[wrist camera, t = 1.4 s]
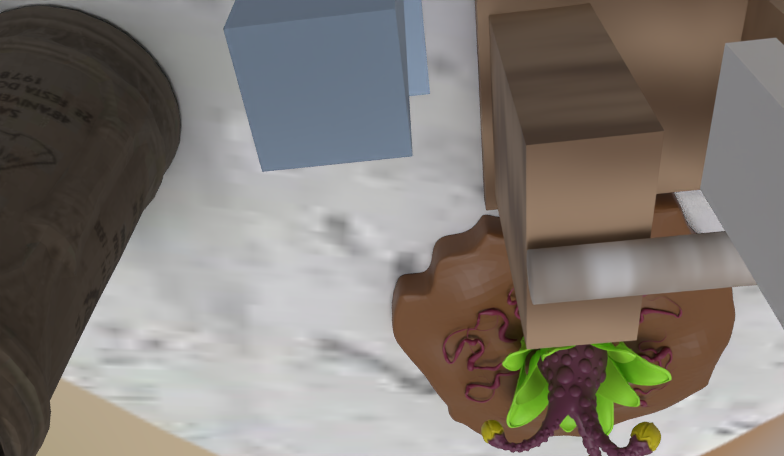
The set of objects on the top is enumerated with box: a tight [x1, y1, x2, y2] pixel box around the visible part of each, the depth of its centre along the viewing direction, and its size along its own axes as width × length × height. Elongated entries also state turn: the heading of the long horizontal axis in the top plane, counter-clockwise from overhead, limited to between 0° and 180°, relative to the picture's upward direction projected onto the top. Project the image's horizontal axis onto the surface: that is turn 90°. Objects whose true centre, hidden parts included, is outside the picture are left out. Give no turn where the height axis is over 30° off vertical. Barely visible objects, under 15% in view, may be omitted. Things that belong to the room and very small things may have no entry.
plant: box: [392, 192, 735, 456], centre depth 42 cm, size 20×20×11 cm
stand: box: [475, 0, 784, 349], centre depth 31 cm, size 12×17×14 cm
